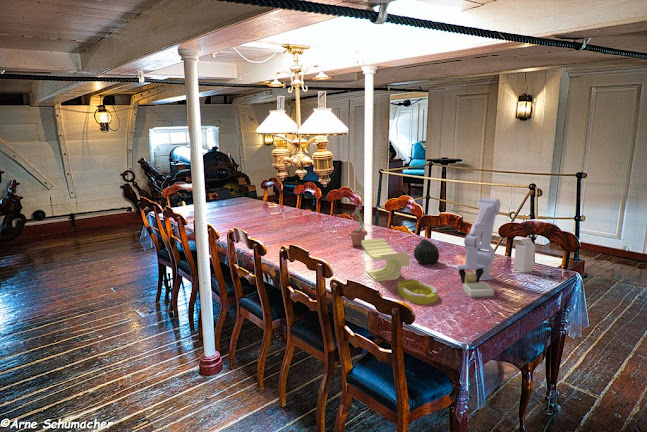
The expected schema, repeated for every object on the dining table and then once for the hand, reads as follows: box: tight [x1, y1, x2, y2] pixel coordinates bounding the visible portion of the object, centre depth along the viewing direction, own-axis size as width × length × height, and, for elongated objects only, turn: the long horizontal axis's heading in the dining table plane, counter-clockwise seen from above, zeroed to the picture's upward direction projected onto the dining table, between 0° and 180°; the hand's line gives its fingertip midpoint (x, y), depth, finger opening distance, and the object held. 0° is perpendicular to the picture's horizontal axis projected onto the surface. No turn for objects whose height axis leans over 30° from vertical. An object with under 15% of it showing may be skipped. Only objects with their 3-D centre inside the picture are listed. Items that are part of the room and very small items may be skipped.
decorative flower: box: [347, 203, 369, 247], centre depth 295 cm, size 15×14×30 cm
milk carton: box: [513, 237, 536, 274], centre depth 236 cm, size 7×7×19 cm
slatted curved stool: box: [360, 238, 410, 282], centre depth 232 cm, size 30×16×18 cm, turn 15°
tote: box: [462, 282, 495, 298], centre depth 207 cm, size 10×12×4 cm
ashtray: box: [397, 278, 439, 305], centre depth 206 cm, size 16×21×5 cm
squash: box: [413, 238, 440, 265], centre depth 255 cm, size 14×15×15 cm
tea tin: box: [465, 271, 477, 284], centre depth 216 cm, size 4×4×7 cm
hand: (470, 282), depth 216 cm, fingers open, 7 cm apart
